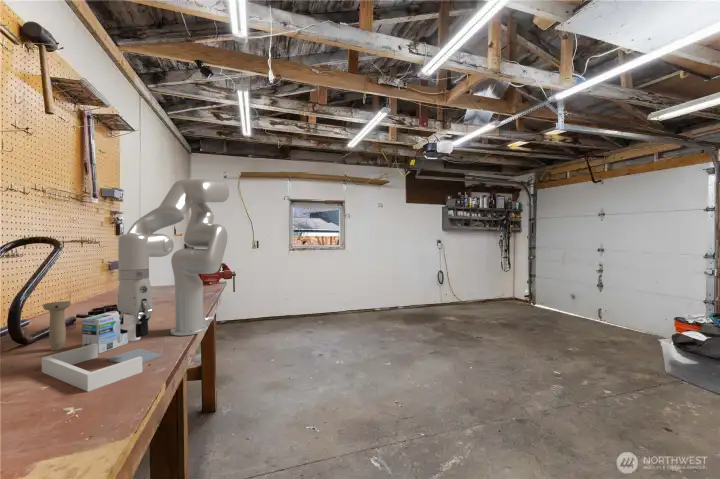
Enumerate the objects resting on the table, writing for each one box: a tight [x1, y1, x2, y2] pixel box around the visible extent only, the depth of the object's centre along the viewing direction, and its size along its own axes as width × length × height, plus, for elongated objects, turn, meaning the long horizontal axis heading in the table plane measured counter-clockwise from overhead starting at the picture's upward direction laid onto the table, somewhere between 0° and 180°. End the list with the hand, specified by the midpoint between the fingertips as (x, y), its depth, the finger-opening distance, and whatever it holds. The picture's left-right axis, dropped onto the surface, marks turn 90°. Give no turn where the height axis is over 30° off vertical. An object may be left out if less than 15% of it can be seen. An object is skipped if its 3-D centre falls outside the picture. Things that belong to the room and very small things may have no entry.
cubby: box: [41, 344, 143, 393], centre depth 88 cm, size 12×24×4 cm, turn 63°
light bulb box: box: [81, 310, 129, 355], centre depth 107 cm, size 11×7×11 cm, turn 168°
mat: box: [106, 348, 163, 364], centre depth 98 cm, size 9×12×1 cm
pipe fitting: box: [119, 311, 143, 342], centre depth 97 cm, size 6×7×8 cm
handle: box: [42, 300, 71, 352], centre depth 105 cm, size 5×6×15 cm
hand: (134, 334), depth 97 cm, fingers closed on pipe fitting, 7 cm apart
